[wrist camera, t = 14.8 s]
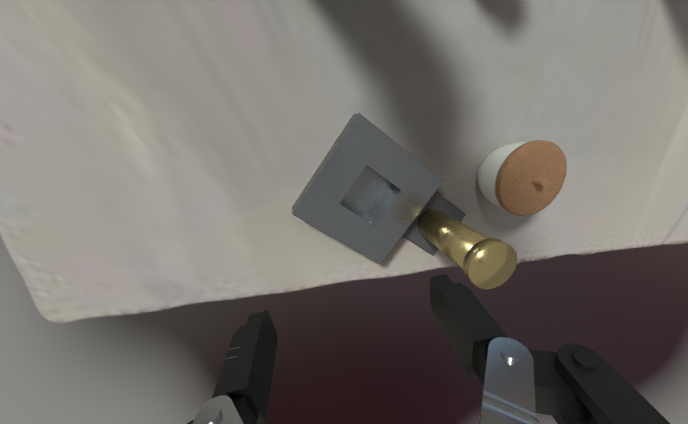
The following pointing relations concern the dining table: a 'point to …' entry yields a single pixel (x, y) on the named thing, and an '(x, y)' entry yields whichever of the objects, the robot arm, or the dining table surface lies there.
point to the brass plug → (469, 249)
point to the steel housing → (366, 190)
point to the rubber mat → (433, 203)
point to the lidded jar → (523, 176)
